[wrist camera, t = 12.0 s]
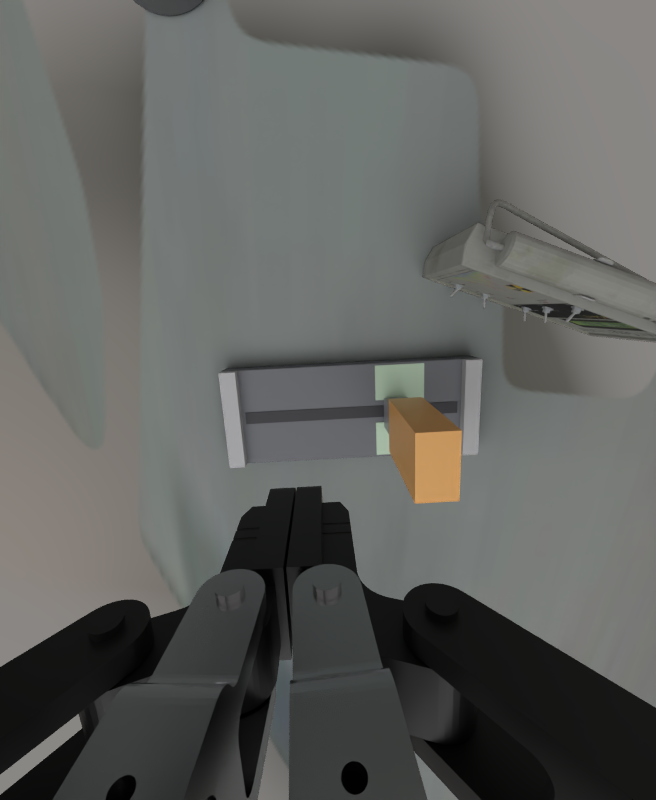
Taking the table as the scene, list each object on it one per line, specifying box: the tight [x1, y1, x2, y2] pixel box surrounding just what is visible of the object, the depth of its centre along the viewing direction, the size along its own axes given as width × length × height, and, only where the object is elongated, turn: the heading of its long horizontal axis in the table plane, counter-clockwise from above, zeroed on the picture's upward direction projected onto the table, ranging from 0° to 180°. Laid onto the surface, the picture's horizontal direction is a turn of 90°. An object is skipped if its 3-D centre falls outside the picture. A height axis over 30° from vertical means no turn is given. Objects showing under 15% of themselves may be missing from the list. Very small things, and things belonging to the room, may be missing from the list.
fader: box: [384, 397, 462, 504], centre depth 31 cm, size 3×5×14 cm, turn 3°
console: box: [218, 356, 483, 468], centre depth 39 cm, size 26×10×3 cm, turn 93°
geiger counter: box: [423, 200, 656, 342], centre depth 31 cm, size 14×6×25 cm
